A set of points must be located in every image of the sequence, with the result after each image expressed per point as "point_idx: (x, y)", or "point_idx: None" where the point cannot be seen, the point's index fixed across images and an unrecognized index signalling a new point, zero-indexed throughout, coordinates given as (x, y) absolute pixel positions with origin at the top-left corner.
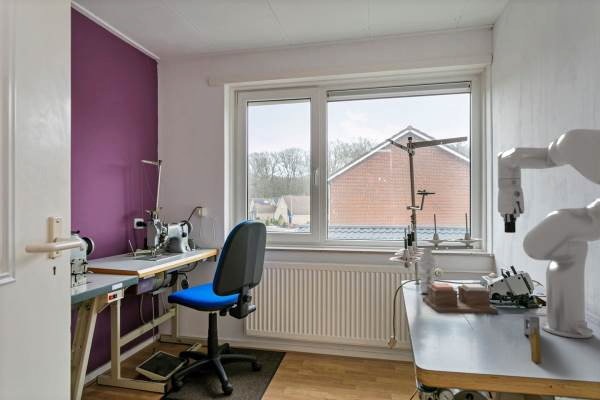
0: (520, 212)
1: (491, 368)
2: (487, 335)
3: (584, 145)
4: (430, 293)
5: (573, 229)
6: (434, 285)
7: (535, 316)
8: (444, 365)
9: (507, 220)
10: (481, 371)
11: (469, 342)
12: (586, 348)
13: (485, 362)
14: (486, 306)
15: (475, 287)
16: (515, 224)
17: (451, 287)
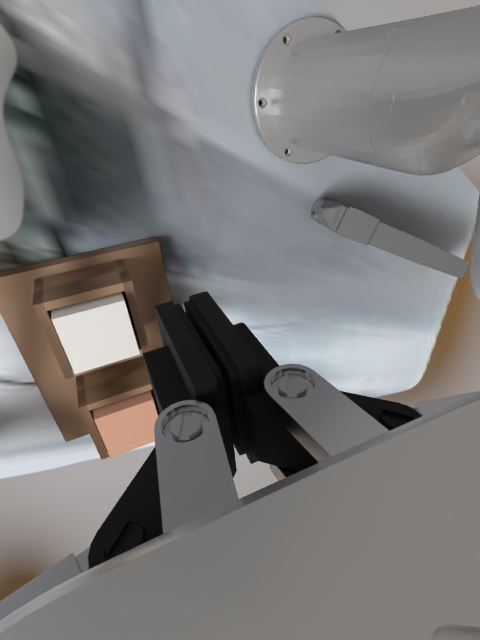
0: (473, 423)
1: (431, 318)
2: (329, 302)
3: None
4: None
5: None
6: (138, 446)
7: (456, 263)
8: (416, 367)
9: (275, 468)
10: (435, 330)
11: (357, 335)
12: None
13: (417, 322)
14: (134, 271)
15: (133, 333)
16: (244, 341)
17: (153, 402)
